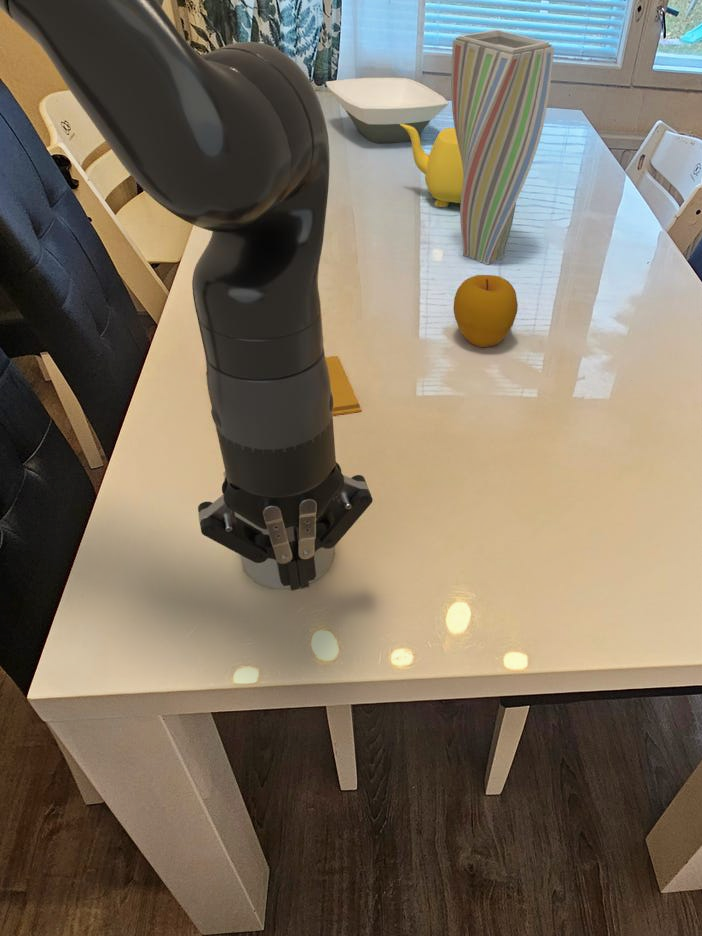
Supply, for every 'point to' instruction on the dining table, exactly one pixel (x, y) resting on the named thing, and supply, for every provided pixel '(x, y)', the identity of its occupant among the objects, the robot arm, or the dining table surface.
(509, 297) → the apple
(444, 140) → the teapot
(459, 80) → the vase
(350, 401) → the orange rectangular slab
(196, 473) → the dining table surface
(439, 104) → the bowl
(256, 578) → the cup
